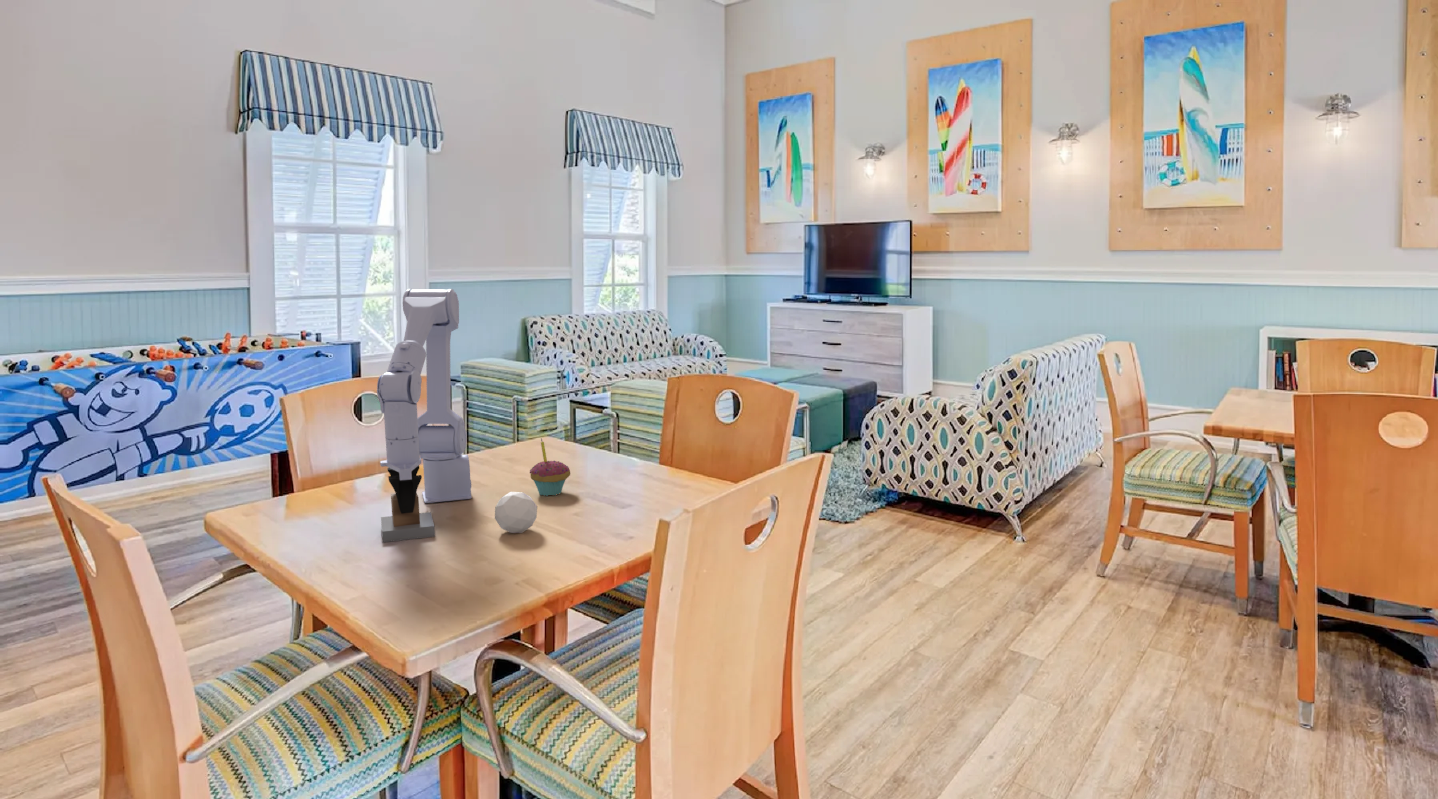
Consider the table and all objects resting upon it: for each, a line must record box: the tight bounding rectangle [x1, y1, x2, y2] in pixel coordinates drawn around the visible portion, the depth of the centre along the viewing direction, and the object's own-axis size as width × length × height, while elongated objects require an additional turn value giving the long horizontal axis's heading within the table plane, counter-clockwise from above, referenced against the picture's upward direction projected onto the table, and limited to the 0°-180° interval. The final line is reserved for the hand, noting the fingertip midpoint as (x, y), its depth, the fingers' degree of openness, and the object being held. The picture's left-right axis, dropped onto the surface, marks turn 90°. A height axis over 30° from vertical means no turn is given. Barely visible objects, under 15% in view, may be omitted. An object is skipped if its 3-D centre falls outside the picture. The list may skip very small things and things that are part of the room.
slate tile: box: [380, 511, 436, 543], centre depth 160 cm, size 9×9×2 cm
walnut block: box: [390, 492, 420, 527], centre depth 160 cm, size 4×4×5 cm
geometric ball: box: [494, 491, 538, 534], centre depth 161 cm, size 8×8×8 cm
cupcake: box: [529, 438, 571, 497], centre depth 185 cm, size 9×8×12 cm
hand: (406, 508), depth 160 cm, fingers open, 5 cm apart
